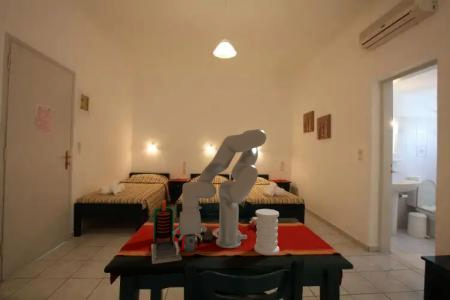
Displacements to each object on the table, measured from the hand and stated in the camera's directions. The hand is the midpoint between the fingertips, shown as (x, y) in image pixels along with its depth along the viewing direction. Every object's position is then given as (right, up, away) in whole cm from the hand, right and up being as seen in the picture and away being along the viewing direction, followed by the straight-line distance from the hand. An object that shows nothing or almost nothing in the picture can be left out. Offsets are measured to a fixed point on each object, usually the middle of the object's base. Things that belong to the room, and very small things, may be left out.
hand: (189, 246), depth 110 cm
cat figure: (+38, -3, +29) cm, 48 cm away
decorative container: (+36, -2, +2) cm, 37 cm away
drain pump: (0, -2, 0) cm, 2 cm away
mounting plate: (-10, -1, -3) cm, 11 cm away
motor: (-15, -1, +12) cm, 19 cm away
